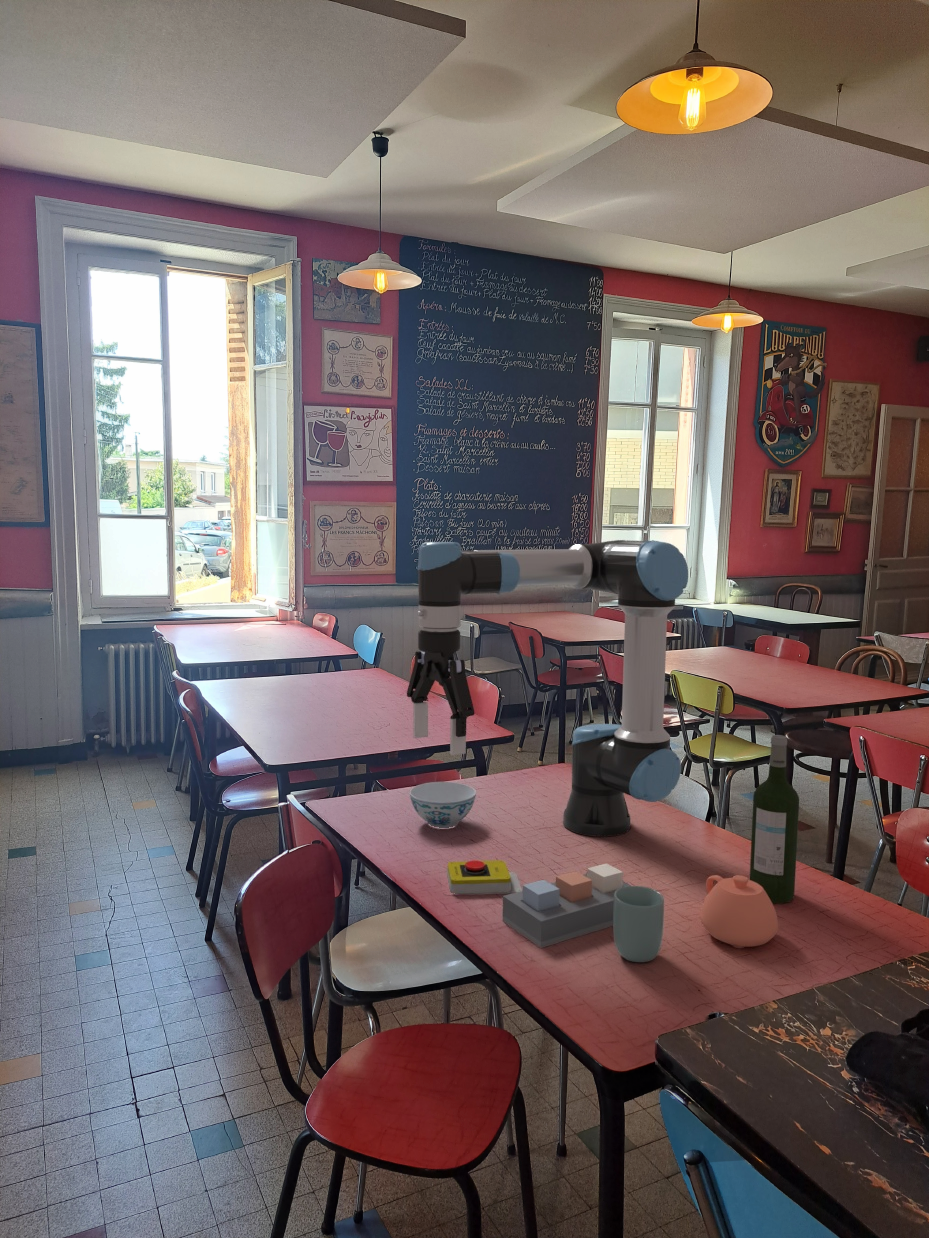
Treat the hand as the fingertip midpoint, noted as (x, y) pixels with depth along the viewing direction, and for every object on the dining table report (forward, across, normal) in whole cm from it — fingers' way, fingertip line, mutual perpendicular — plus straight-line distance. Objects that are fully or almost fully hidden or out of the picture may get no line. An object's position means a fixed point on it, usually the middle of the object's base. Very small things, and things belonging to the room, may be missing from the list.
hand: (438, 745), depth 155 cm
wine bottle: (+28, +32, +53) cm, 68 cm away
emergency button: (+29, 0, +9) cm, 30 cm away
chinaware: (+28, -31, +19) cm, 46 cm away
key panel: (+28, +21, +15) cm, 38 cm away
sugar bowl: (+28, +39, +35) cm, 59 cm away
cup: (+28, +36, +16) cm, 48 cm away
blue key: (+24, +21, +8) cm, 33 cm away
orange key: (+24, +21, +15) cm, 35 cm away
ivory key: (+24, +21, +22) cm, 39 cm away
